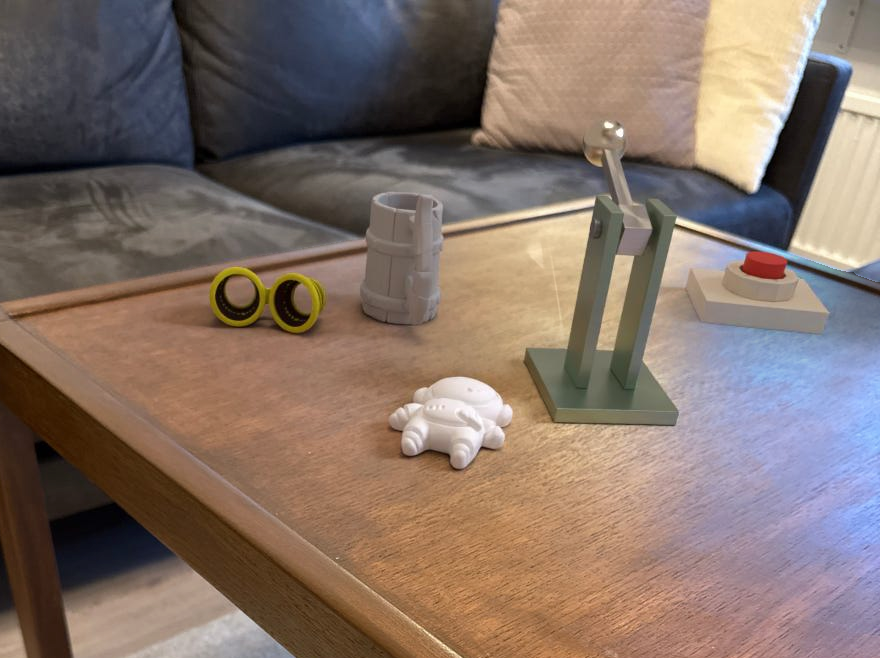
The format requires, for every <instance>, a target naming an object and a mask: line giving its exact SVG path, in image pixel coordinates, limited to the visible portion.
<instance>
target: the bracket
mask: <svg viewBox="0 0 880 658" xmlns="http://www.w3.org/2000/svg"><path fill="white" fill-rule="evenodd" d="M594 199H595V200H594V206H593V210H592V215H591V221H590V224H589V232H588V236H587V242H586V248H585V252H584V258H583V263H582V268H581V274H580V278H579V283H578V290H577V295H576V300H575V304H574V305H575V306H574V310H573V311H574V312H573V316H572V320H571V321H572V322H571V325H570V326H571V327H570V332H569V338H568V343H567V347H566V348H554V347H553V348H552V347H550V348H549V347H525V353H524V358H523V361H524V363H525V365H526V367H527V370H528V371H529V373H530V375H531V377H532V379H533V382H534V383H535V386H536V387H537V388H536V389H538V391H539V394H540V396H541V398H542V400H543V402H544V404H545V406H546V408H547V410H548V412H549V414H550V416H551V419H552V420H553V422H554V423H571V424H573V423H574V424H611V425H613V424H614V425H615V424H616V425H657V426H660V425H661V426H676V425H677V421H678V418H679V414H680V411H679V409H678V408H677V406H676V405H675V403H674V402H673V400H671V398H670V397H669V395H668V394H667V392H666V391H665V389H664V388H663V387H662V385H661V384H660V383H659V381H658V379H657V378H656V377H655V376H654V374H653V373H652V372H651V370H650V369H649V367H648V366H647V365H646V363H645V362H644V360H643V359H644V355H645V350H646V346H647V342H648V338H649V333H650V331H651V330H650V329H651V325H652V322H653V317H654V313H655V308H656V305H657V302H658V301H657V300H658V296H659V292H660V288H661V284H662V280H663V275H664V271H665V269H666V263H667V259H668V256H669V255H668V254H669V252H670V251H669V250H670V246H671V242H672V238H673V233H674V229H675V225H676V221H677V218H678V215H677V214H676V213H675V212H673V211H672V210H671V209H670V208H669V206H667V205H666V204H665V203H664V202H663V201H661V200H660V198H646V200H645V205H644V206H646V209H647V212H648V215H649V218H650V222H651V225H652V228H653V230H652V233H651V236H650V238H649V241H648V244H647V246H646V249H645V252H644V254H643V256H633V260H632V264H631V267H630V268H631V269H630V273H629V278H628V283H627V287H626V292H625V296H624V301H623V306H622V309H621V314H620V320H619V323H618V328H617V333H616V338H615V341H614V346H613V349H612V350H611V349H610V350H609V349H597V348H598V347H597V346H598V342H599V337H600V332H601V328H602V323H603V318H604V314H605V310H606V309H605V308H606V303H607V299H608V293H609V289H610V285H611V279H612V275H613V270H614V266H615V260H616V256H617V255H616V251H617V246H618V241H619V237H620V232H621V227H622V222H623V217H624V212H623V211H622V210H621V209H620V208H619V207H618V206H617V205H616V204H615V203H614V202H613V201H612V198H611V197H609V196H608V195H595V198H594Z"/></svg>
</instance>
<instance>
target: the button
mask: <svg viewBox="0 0 880 658" xmlns="http://www.w3.org/2000/svg"><path fill="white" fill-rule="evenodd" d="M744 260H745V261H744V264H743V268H742V272H744V273H746V274H748V275H751V276H754V277H758V278H763V279H773V280H777V279H782V277H783V274H784V271H785V268H787V265H788V260H787V258H785V257H784V256H782V255H779V254H777V253H773V252H767V251H756V250H755V251H749V252H747V253H746V254H745V257H744Z"/></svg>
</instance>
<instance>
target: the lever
mask: <svg viewBox="0 0 880 658" xmlns="http://www.w3.org/2000/svg"><path fill="white" fill-rule="evenodd" d="M628 143H629V136H628V131H627V129H626V127H625V125H624V124H623V123H622V122H621V121H620V120H619V119H617V118H615V117H611V116H604V117H600V118H598V119H596V120H594V121H593V122H591V124H590V125H589V126H588V127H587V128H586V130H585V132H584V135H583V139H582V150H583V154H584V156H585V157H586V159H587V161H589V162H590V163H591V164H592V165H594V166H595V167H600V168H601V167H602V169H603V173H604V177H605V180H606V184H607V187H608V191H609V194H610V199H611V200H612V201H613V202H614V203H615V204H616V205H617V206H618V207H619V208H620V209H621V210H622V211H623V212H624V217H623V222H622V227H621V232H620V237H619V241H618V246H617V251H616V256H631V257H634V256H643V254H644V252H645V249H646V246H647V244H648V241H649V238H650V236H651V233H652V230H653V228H652V225H651V222H650V218H649V215H648V212H647V209H646V206H645V205H642V204H641V205H639V204H634V203H633V199H632V195H631V191H630V188H629V185H628V182H627V179H626V176H625V172H624V169H623V165H622V162H621V159H622V158H623V156H624V155H625V153H626V151H627V148H628Z"/></svg>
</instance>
